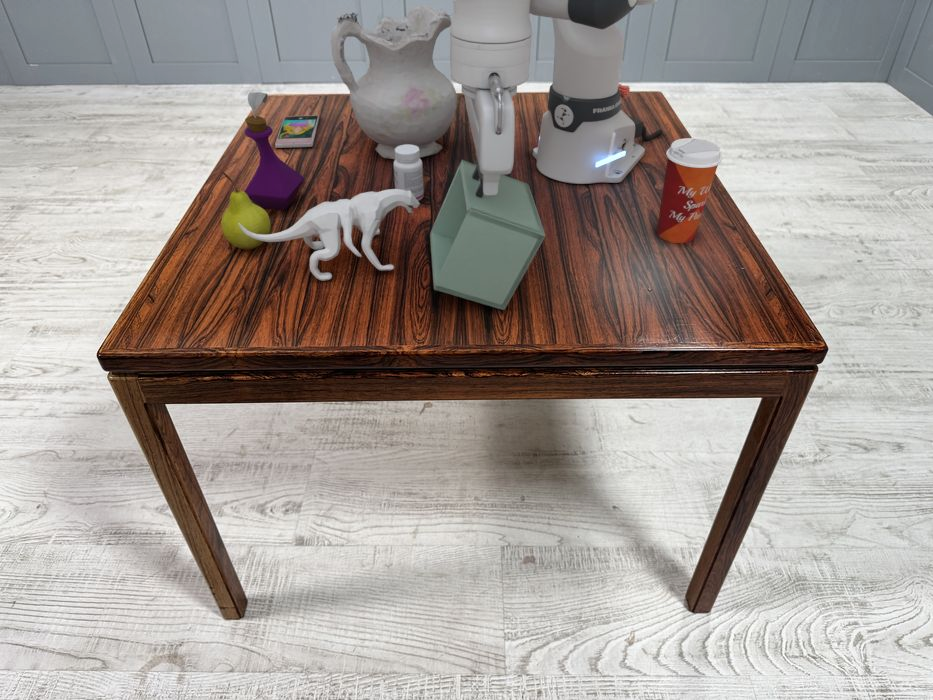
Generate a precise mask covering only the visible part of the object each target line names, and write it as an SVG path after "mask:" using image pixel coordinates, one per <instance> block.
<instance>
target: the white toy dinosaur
mask: <svg viewBox="0 0 933 700" xmlns="http://www.w3.org/2000/svg"><path fill="white" fill-rule="evenodd" d="M420 204H421V203H420V202H419V201H417V199H416V198H415V196H414V195H413V193H412V192H411V191H410V190H409V191H405V190H401V189H395V188H390V189H389V188H388V189H384V190H379V191H372V190H371V191H366V192H360V193H358V194H356V195H355V196H352V197H351V199H348V198H341V199H340V198H339V199H338V200H336V201H323V202H321V203H319V204H317V205H315V206H314V207H311V208H310V209H308V210H307V211H306V212H305V213H304V214H303V216H301V217H300V218H299V219H298V220H297V221H296V222H295V223H294V224H293V225H292V226H290V227H289V228H286V229H285V230H282V231H279V232H275V233H274V232H273V233H270V234H268V235H262V234H255V233H252V232H250V231H248V230H247V229H245V228H244V227H243V226H242V225H241V224H240V223H238V224H239V226H240V228H241V229H242V231H243V232H244V233H245V234H246V235H247V236H249V237H251V238H254V239H257V240H261V241H264V242H266V243H278V242H279V243H280V242H287V241H292V240H297V239H303V241H304V243H305V244H306V245H307V246H308V247H309V248H310V249H311V250H314V251H313V253H312V254H311V255H310V257H309V271H310V272H311V274H312V275H313V276H314V277H315V279H317V280H318V281H321V282H324V281H325V282H326V281H330V280H332V278H333V274H332V273H331V272H321V271H320V269H319V267H318V266H319V261H324V262H327V261H330V260H333V259H334V258H336V257H337V256H338V255H339V254H340V251H341V245H342V239H341V230H343V231H342V232H343V243H344V245H345V246H346V247H347V248H348V250H350V252H352V253H353V254H354V256H356V257H357V258H358V257H359V258H362V254H361V253H360V252H359V250H357V248H356V247H355V246H354V243H353V238H352V234H353V226H354V227H355V228H356V229H357V230H358V231H360V233H362V237H361V242H360V245H361V249H362V251H363V254H365V256H366V258H367V260H368V261H369V262H370V263H371V264H372V265H373V267H375V268H376V269H377V270H378V271H394V269H395V266H394V264H391V263H390V264H385V265H382V264H381V263H380V260H379V259H378V257H377V255H376V254H375V253H374V251H373V249H372V242H373V239H374V237H375V236H377V235H380V234H381V230H380V226H381V223H382V222H383V221H384V219H385V217H386V216H387V214H388V213H389V212H391V211H392V210H393V209H395V208H396V207H403V208H404V209H405V210H406V212H407V213H409V214H414V211H413V209H418V207H419V206H420ZM411 206H412V207H413V209H412V207H411ZM313 237H316V238H319V240H317V241H313Z"/></svg>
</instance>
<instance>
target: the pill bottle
mask: <svg viewBox="0 0 933 700" xmlns="http://www.w3.org/2000/svg"><path fill="white" fill-rule="evenodd" d="M395 158H396V159H394V160H393V177H394V178H393V179H394V189H401V190H405V191H409V190H410V191H411V192H412V193H413V195H414V196H415V198H416V199H417V201H418V202H419V201H421V200H422V199H423V198H424V195H425V190H424V189H425V187H424V169H423V160H422V159H421V158H420V151H419V147H417V146H415V145H410V144H405V145H400V146H398V147H396V148H395Z"/></svg>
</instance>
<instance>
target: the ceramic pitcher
mask: <svg viewBox="0 0 933 700" xmlns="http://www.w3.org/2000/svg"><path fill="white" fill-rule="evenodd" d="M358 16H359V14H358V13H355V12H351V13H345V14H341V15H340V16H339V17H336V19H337V23H336V24H335V26H334V28H333V30H332V32H331V39H330V47H331V55H332V59H333V63H334V67H335V69H336V70H337V72H338V74H339V76H340V79H341V80H342V83H343V84H344V85H345V86H346V87H347V89H348V91H349V101H350V107H351V109H352V110H353V115H354V118H355V121H356V122H357V125H358V126H359V128H360V129H361V130H362V132H363V133H364V134H365V135H366V136H367V137H368V138H369V139H370V140H371V141H374V142H375V143H377V146H376V147H375V148H374V150H375V151H376V152H377V153H378V154H379V156H380V157H382V158H384V159H391V160H395V159H396V158H395V148H396V147H398V146H400V145H405V144H410V145H415V146H417V147H419V151H420V159H421V158H424V157H428V156H432V155H435V154H438V153H439V152H440V151H441V150H442V149H443V146H442V144H439V143H437V142H436V141H438V140H440V139H441V138H442V137H443V136H444V135H445V134H446V133H447V131H448V129H449V128H450V126H451V125H452V123H453V121H454V118H455V114H456V109H457V99H458V98H457V91H456V88H455V86H454V83H453V82H452V81H451V80H450V79H449V78H448V77H447V76H446V75H445V74H444V73H443V72H441V71H440V70H439V69H437V68H436V66H435V63H434V59H433V55H434V50H435V47H436V46H435V45H436V42H437V39H438V37H439V36H440V34H441V33H442V32H443V31H444V30H446V29H448V28H450V27H451V23H452V19H451V17H450V16H452V17H453V15H451V14H450V13H448V12H447V11H445V10H444V11H443V10H442V9H440V10H439V11H438V10H435V9H434V8H432V7H430V6H428V5H420V6H416V7H414V8H412V9H411V10H409V12H408V13H407V14H406V16H404V18H402V19H394V18H391V17H389V16H384V17H383V18H381V19H380V21H379V22H378V23H377V24H376V25H375V28H374V29H373V31H371V30H369V29H363V27H362V26H361V24H360V23H359V21H358ZM348 37H349V38H350V37H354V38H356V39H357V40H358V41H359V42H360V43H361V44H364V45H365V48H366V51H367V55H368V59H369V60H368V61H369V65H368V68H367V71H366V73H364V74H363V75H362V76H361V77H360V78H359V79H358V80H357V81H356V80H355V77H354V74H353V71H352V70H351V68H350V66H349V65H348V62H347V60H346V58H345V42H346V39H347V38H348Z"/></svg>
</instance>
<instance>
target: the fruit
mask: <svg viewBox="0 0 933 700" xmlns="http://www.w3.org/2000/svg"><path fill="white" fill-rule="evenodd" d="M220 174H222V175H223V176H224V177H225V178H226V179H227V180H229V181H230V182H231V184H233V186H234V190H233V191H232V192H231V193H230V195H229V204H228V206H227V208H226V209H225V211H224V213H223V214H222V217H221V220H220V221H221V222H220V223H221V225H220V228H221V232H222V234H223V236H224V238H225V239H226V241H227V242H229V244H231V246H233V247H235V248H238V249H241V250H245V251H250V250H254V249H256V248H258V247H260V246H261V245H262V244H264V243H265V241H261V240H257V239H254V238H251V237H249V236H247V235H246V234H245V233H244V232H243V231H242V229H241V228H240V226H239V224H238V223H240V224H241V225H242V226H243V227H244V228H245V229H247V230H248V231H250V232H252V233H255V234H262V235H268V234H271V228H272V227H271V226H272V225H271V219H270V216H269V214H268V213H267V211H266V210H265V208H261V207H260V206H259V205H257V204H256V203H255V202H253V201H252V200H251V199H249V197H248V195H247V194H246V193H245V192H244V191H245V190H242V189H238V187H237V186H236V184H235V182H234V181H233V180H232V178H231V177H230V176H229V175H228V174H227V173H225V172H224V171H223V170H221V171H220Z"/></svg>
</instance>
